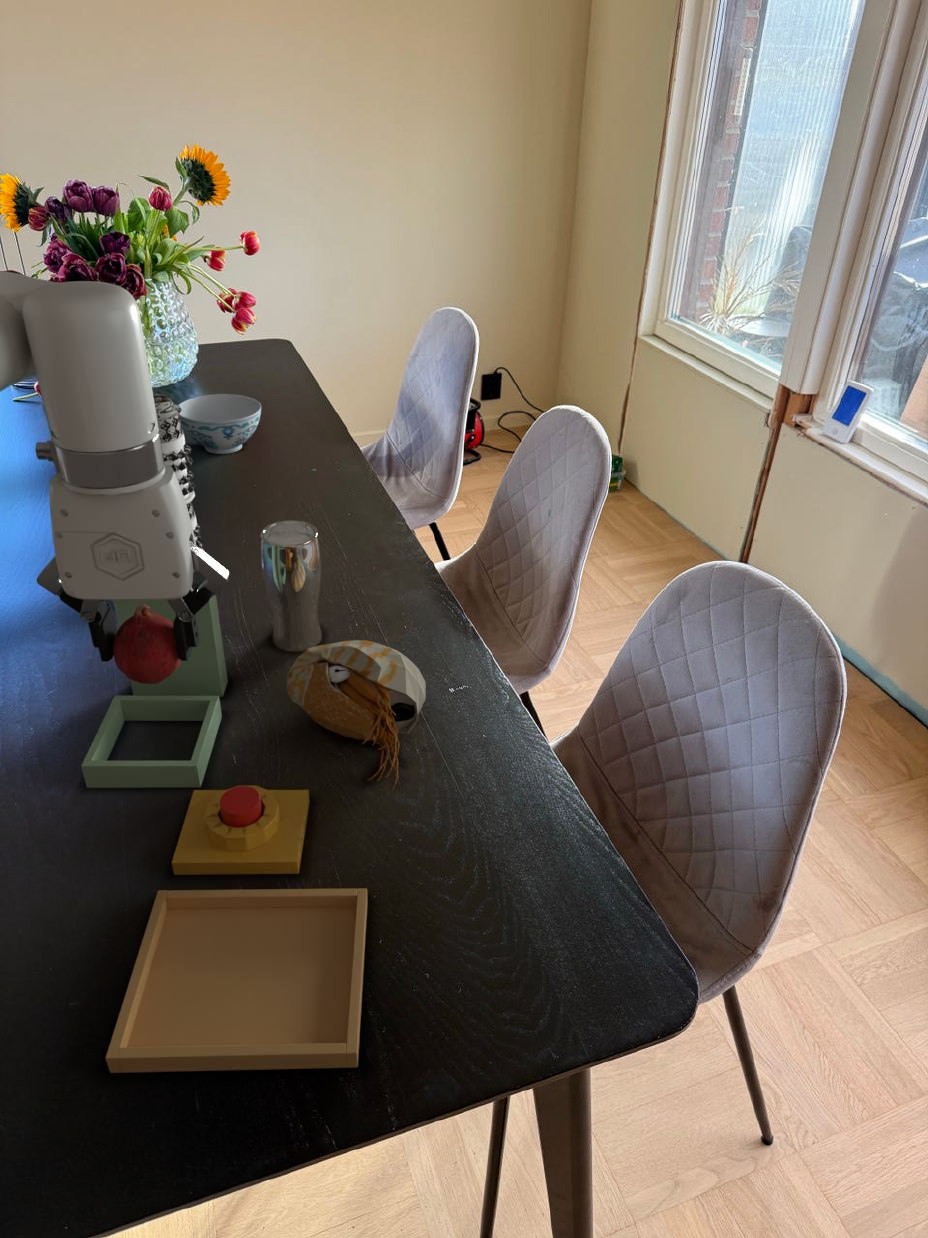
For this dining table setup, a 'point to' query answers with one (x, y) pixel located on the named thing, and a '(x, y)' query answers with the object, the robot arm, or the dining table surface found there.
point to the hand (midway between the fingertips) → (149, 650)
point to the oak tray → (245, 982)
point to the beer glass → (292, 582)
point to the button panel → (243, 836)
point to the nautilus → (359, 692)
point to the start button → (240, 806)
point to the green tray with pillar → (165, 707)
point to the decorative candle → (176, 453)
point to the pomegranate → (146, 647)
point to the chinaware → (220, 420)
